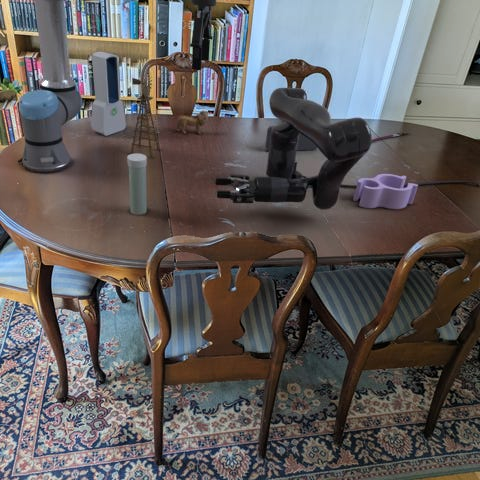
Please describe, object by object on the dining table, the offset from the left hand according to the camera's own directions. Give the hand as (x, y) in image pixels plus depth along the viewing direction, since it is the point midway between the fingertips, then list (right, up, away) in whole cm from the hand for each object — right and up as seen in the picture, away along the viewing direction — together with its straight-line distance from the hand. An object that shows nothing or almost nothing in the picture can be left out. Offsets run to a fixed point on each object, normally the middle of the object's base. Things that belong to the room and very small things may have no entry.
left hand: (200, 65), depth 149 cm
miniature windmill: (-23, -23, +27) cm, 42 cm away
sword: (+81, -9, +65) cm, 104 cm away
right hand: (+6, -41, -12) cm, 43 cm away
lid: (-16, -33, -19) cm, 42 cm away
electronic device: (-41, -11, +42) cm, 59 cm away
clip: (+61, -43, +10) cm, 75 cm away
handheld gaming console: (+34, -19, +42) cm, 57 cm away
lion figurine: (-8, -10, +49) cm, 51 cm away
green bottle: (-18, -47, -10) cm, 51 cm away
